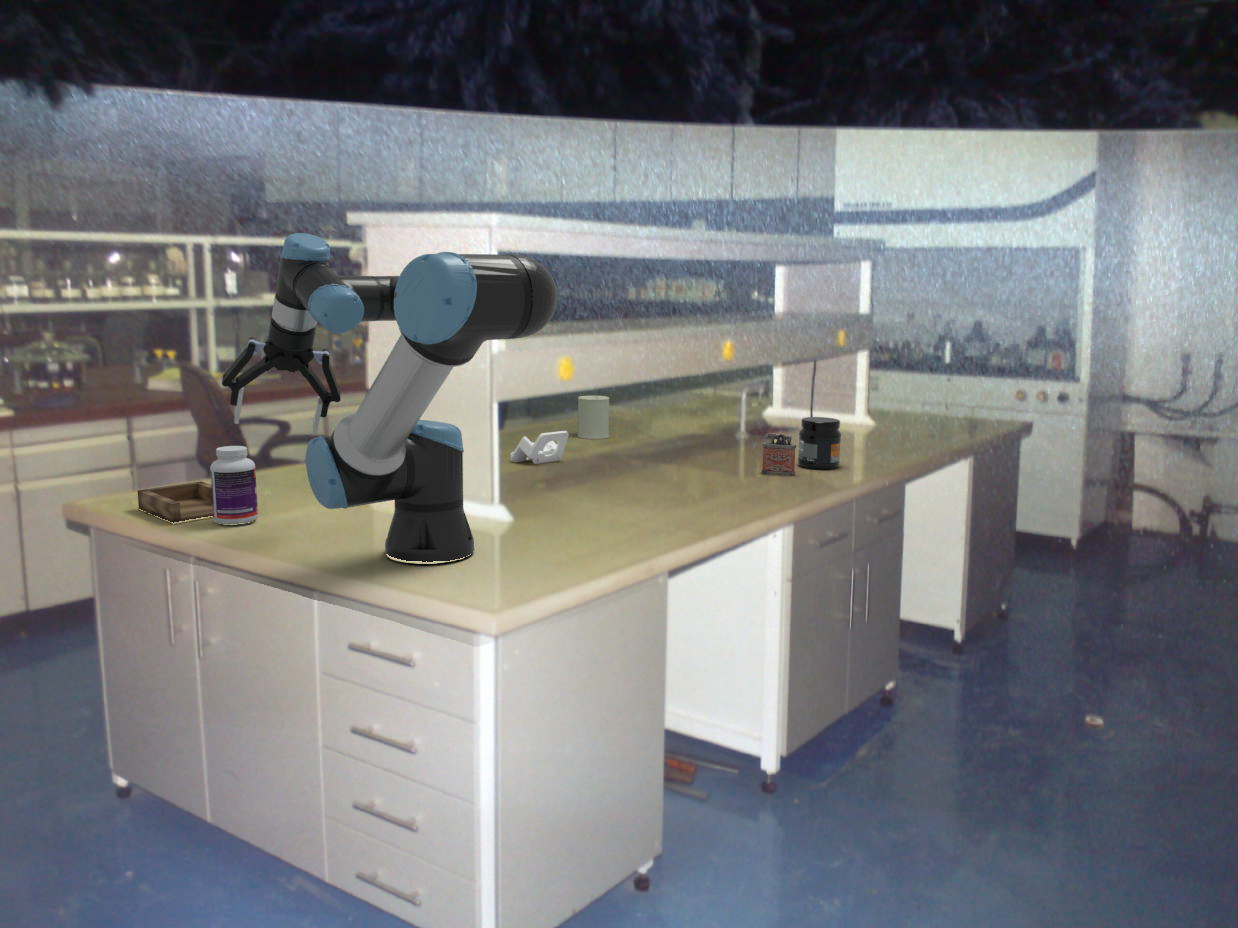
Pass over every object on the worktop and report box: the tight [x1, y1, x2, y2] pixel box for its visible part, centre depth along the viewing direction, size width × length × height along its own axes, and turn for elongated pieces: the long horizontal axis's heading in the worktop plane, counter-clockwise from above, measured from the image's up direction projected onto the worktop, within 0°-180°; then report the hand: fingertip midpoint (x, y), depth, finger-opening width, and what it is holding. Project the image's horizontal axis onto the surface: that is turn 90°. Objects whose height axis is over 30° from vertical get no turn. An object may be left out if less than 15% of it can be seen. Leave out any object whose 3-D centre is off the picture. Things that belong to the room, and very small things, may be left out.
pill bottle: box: [209, 445, 259, 525], centre depth 198 cm, size 8×8×14 cm
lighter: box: [761, 433, 797, 477], centre depth 252 cm, size 8×3×10 cm, turn 74°
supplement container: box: [797, 416, 842, 471], centre depth 263 cm, size 10×10×12 cm
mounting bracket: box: [509, 430, 570, 465], centre depth 263 cm, size 12×6×11 cm, turn 130°
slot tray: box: [137, 481, 213, 523], centre depth 206 cm, size 16×13×4 cm
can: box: [577, 395, 610, 440], centre depth 302 cm, size 9×9×12 cm
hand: (276, 425), depth 190 cm, fingers open, 13 cm apart
